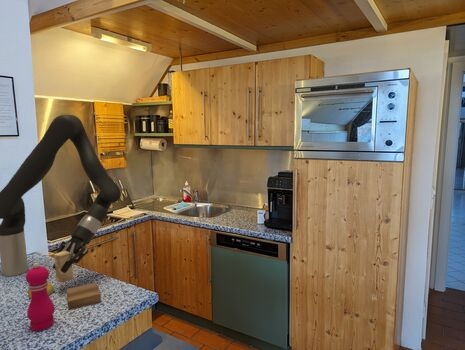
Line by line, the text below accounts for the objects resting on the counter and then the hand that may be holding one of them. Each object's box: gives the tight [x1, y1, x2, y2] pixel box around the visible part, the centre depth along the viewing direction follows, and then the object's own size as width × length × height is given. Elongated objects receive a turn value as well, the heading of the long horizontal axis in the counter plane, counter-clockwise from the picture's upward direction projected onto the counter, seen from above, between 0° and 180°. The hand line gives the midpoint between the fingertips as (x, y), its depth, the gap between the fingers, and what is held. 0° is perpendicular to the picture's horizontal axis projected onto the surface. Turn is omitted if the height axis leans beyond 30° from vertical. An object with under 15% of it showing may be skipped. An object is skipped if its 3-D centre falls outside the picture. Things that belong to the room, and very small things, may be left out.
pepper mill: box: [25, 262, 56, 332], centre depth 100 cm, size 7×7×20 cm
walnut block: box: [66, 281, 102, 311], centre depth 116 cm, size 10×10×3 cm
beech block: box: [53, 250, 74, 284], centre depth 121 cm, size 4×4×10 cm
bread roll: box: [27, 281, 55, 299], centre depth 121 cm, size 8×9×4 cm
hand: (58, 270), depth 120 cm, fingers closed on beech block, 4 cm apart
